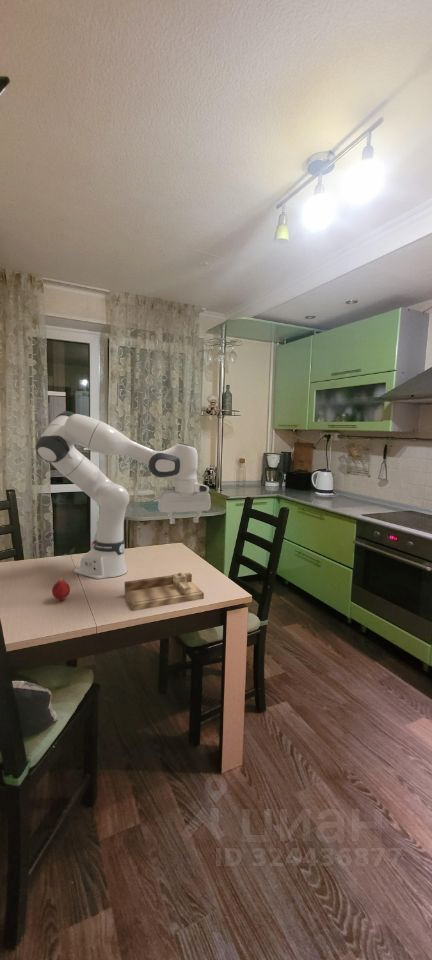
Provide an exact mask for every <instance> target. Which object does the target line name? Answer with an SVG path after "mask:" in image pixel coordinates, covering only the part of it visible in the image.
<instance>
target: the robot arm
mask: <svg viewBox="0 0 432 960" xmlns="http://www.w3.org/2000/svg"><path fill="white" fill-rule="evenodd" d="M75 445H79V446H81V447H82V448H86V449H88V450H89V451H93V452H95V453H98V454H102V455H105V456H106V455H107V456H122V457H127V458H130V459H133V460H135V461H138V462H140V463H142V464H145V465H147V466H148V469H149V471H150V473H151V474H152V475H153V476H154V477H157V478H161V479H162V478H163V479H164V478H169V477H173V486H169V487H166V486H163V487H161V488H160V489H159V490H158V492H157V493H158V494H157V495H158V503H157V510H158V511H159V512H160V513H163V514H164V513H166V515H167V517H168V518H169V524H170V525H175V524H176V519H175V518H173V517H172V515H173V513H183V512H184V513H185V512H187V513H188V512H195V513H196V514H195V516H194V517H192V519H193V520H192V521H193V523H195V524H196V523H197V524H198V523H199V518H200V517H201V515H202V512H203V511H209V510H210V509H211V506H212V505H211V504H212V503H211V499H212V498H211V495H210V493H209V492H210V487H209V486H208V485H205V484H202V483H201V482H198V475H197V472H198V467H199V456H198V455H199V454H198V451H197V447H195V446H194V445H192V444H189V443H188V444H187V443H183V442H178V443H176V444H174V445H173V446H171V447H170V448H167V449H164V450H162V449H160V450H158V449H157V450H156V449H152V448H149V447H147V446H145V445H143V444H140V443H138V442H136V441H134V440H131V439H130V438H129V437H127V436H126V435H124V434H123V433H122V432H121V431H119V430H117V428H115V427H113V426H111V425H109V424H107V423H106V422H103V421H101V420H99V419H98V418H97V419H96V418H94V417H91V416H88V415H84V414H79V413H75V412H73V411H67V410H66V411H62V412H61V413H59V414H58V415H56V416H55V419H53V420H52V421H51V422H50V423H49V424H48V425H47V426H46V429H44V431H43V433H42V434H41V436H40V437H39V438H38V440H37V441H36V444H35V451H36V454H37V455H38V456H39V457H40V458H41V459H42V460H44V461H46V462H48V463H51V464H52V466H53V467H54V468H55V469H56V470H57V471H58V472H59V473H60V474H61V475H63V476H64V477H65V478H66V479H68V480H69V481H70V482H71V483H72V484H74V485H75V486H76V487H78V488H79V489H80V490H81V491H82V492H83V493H84V494H85V495H87V496H88V497H89V498H90V499H92V500H93V501H94V502H95V503H96V504H97V505H99V513H98V514H99V515H98V519H97V521H96V540H94V541H91V545H92V546H93V547H92V548H91V549H90V550H89V551H88V552H86V553H85V554H84V555H82V557H81V558H80V562H79V563H80V564H79V565H78V566H77V567H75V569H74V572H73V573H76V574H78V575H79V574H80V575H82V576H86V577H89V578H92V579H96V580H100V579H106V578H115V577H120V576H123V575H124V574H126V573H128V567H127V564H126V558H125V548H126V547H125V546H126V545H125V544H126V543H125V538H124V533H125V532H124V530H125V529H124V527H125V526H124V523H125V522H124V521H125V516H126V512H127V507H128V505H129V503H130V494H129V492H128V491H127V489H126V488H125V487H124V486H122V485H121V484H118V483H115V482H114V481H112V480H111V479H110V478H109V477H107V476H106V475H105V473H104V472H103V471H102V470H101V469H100V468H99V467H98V466H97V465H96V464H94V463H93V462H92V461H91V460H90V459H89V458H88V457H86V456H85V455H84V454H83V453H81V452H80V451H79V450H78V449H77V448H76V447H75Z"/></svg>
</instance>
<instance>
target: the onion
mask: <svg viewBox="0 0 432 960" xmlns="http://www.w3.org/2000/svg"><path fill="white" fill-rule="evenodd" d="M70 592H71V587H70V585H69V583H67V582H66V581H65V580H64V578H60V579H59V580H58V581H57V582H55V584H54V585H53V587H52V588H51V593H52V596H53V598H55V599H56V600H59V601H63V600H65V599H66V598H67V597H68V596H69V594H70Z"/></svg>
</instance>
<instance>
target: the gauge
mask: <svg viewBox="0 0 432 960" xmlns="http://www.w3.org/2000/svg"><path fill="white" fill-rule="evenodd" d="M172 575H173V586H174V587H175V588H176V589H179V590H180V591H181V592H182V593H183V594H184V595H187V594H191V587H190V586H189V585H188V584H187V576H186V575H185V574H184V572H178V573H173V574H172Z"/></svg>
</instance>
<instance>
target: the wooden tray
mask: <svg viewBox="0 0 432 960" xmlns="http://www.w3.org/2000/svg"><path fill="white" fill-rule="evenodd" d="M183 573H184V572H183ZM184 574H185V575H186V576H187V584H188V585H189V586H190V587H191V594H187V595H184V594H183V593H182V592H181V591H180V590H179V589H176V588H175V587H174V586H173V574H172V575H163V576H157V577H150V578H142V579H137V580H135V579H134V580H129V581H124V596H125V599H126V600H127V601H128V603H129V605H130V606H131V609H132V610H133V611H139V610H145V609H150V608H155V607H161V606H166V605H171V604H172V605H173V604H178V603H183V602H190V601H191V602H192V601H196V600H201V599H202V600H203V599H204V597H205V593H204V591H203V590H201V589H200V588H199V587H198V586H197V585H196V584H195V583H194V582H193V581H192V580H193V574H192V573H191V572H186V573H184Z"/></svg>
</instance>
